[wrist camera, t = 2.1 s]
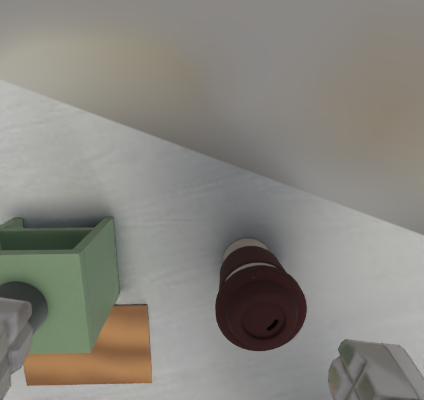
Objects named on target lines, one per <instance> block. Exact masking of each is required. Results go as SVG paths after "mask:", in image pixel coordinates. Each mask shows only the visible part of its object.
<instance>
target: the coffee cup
mask: <svg viewBox="0 0 424 400" xmlns="http://www.w3.org/2000/svg"><path fill="white" fill-rule="evenodd" d="M215 309H216V320H217V323H218V326H219V328H220V330H221V332H222V333H223V335H224V336H225V337H226V338H227V339H228V340H229V341H230V342H232V343H233V344H235V345H236V346H238V347H241V348H243V349H247V350H252V351H267V350H271V349H275V348H278V347H280V346H282V345H284V344H286V343H288V342H289V341H290V340H292V339H293V338H294V337H295V336H296V334H297V333H298V332H299V330H300V329H301V327H302V326H303V323H304V321H305V317H306V312H307V306H306V300H305V296H304V294H303V292H302V290H301V288H300V286H299V285H298V283H297V282H296V280H295V279H294V278H293V277H292V276H291V275H289V274H288V273H287V272H286V271H285V270H284V268H283V267H282V266H281V264H280V263H279V261H278V260H277V258H276V257H275V256H274V255H273V254H272V253H271V252H270V251H269V249H268V248H267V247H266V246H265V245H264V244H263V243H261V242H260V241H258V240H255V239H250V238H249V239H240V240H238V241H235V242H234V243H232V244H231V245H230V246H229V247H228V248H227V249H226V251H225V253H224V255H223V259H222V266H221V271H220V285H219V292H218V294H217V298H216V304H215Z"/></svg>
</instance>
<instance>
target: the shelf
mask: <svg viewBox="0 0 424 400" xmlns="http://www.w3.org/2000/svg"><path fill="white" fill-rule="evenodd" d="M14 281H18V282H24V283H27V284H30V285H32V286H34V287H35V288H37V289H38V290H39V291H40V292H41V293H42V294H43V296H44V297H45V299H46V302H47V306H48V313H47V317H46V319H45V321H44V322H43V323H42V325H41V326H40V327H39V328H38V330H37V331H36V332H35V333H34V335H33V337H32V344H31V347H30V350H29V353H28V354H51V353H91V351H92V349H93V347H94V345H95V343H96V340H97V338H98V336H99V334H100V332H101V330H102V328H103V326H104V324H105V322H106V320H107V318H108V316H109V314H110V312H111V310H112V308H113V306H114V304H115V302H116V300H117V298H118V295H119V293H120V289H119V278H118V266H117V254H116V242H115V231H114V219H113V217H105V218H104V219H103V220H102V221H101V222H100V223H99V224H98V225H97V226H96V227H95V228H94V227H81V228H24V227H23V221H22V218H13V219H11V220H10V221H8V222H6V223H4V224H2V225H0V286H1V285H3V284H5V283H8V282H14Z"/></svg>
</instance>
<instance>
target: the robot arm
mask: <svg viewBox="0 0 424 400" xmlns="http://www.w3.org/2000/svg"><path fill="white" fill-rule="evenodd" d="M31 315H32V308H31V303H30V302H28V301H21V300H14V299H8V298H1V297H0V400H3V398H4V397H5V395H6V393H7V391H8V390H9V388H10V386H11V376H10V375H11V374H12V373H14V372H15V371H17V370H18V369H20V368H21V367H22V365H23V363H24V361H25V360H26V358H27V355H28V353H29V350H30V347H31V344H32V337H33V327H32V326H31V325H30V324H29V323H28V322H27V321H28V319H29V318H30V316H31ZM338 351H339V353H340V356H339V357H338V358H336V359H335V360H333V361H332V363H331V366H330V368H329V375H328V382H329V388H330V392H331V394H332V397H333V399H334V400H424V377H423V376H422V374H421V373H420V371H419V370H418V368H417V367H416V365H415V364H414V362H413V361H412V359H411V358H410V357H409V355H408V354H407V352H406V351H405V349H404V348H402V347H401V346H400V345H394V344H384V343H375V342H365V341H356V340H347V339H345V340H344V341H343V342H341V344H340V346H339V348H338Z"/></svg>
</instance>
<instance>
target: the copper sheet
mask: <svg viewBox="0 0 424 400" xmlns="http://www.w3.org/2000/svg"><path fill="white" fill-rule="evenodd" d="M23 365H24V371H25V377H26V382H27V386H29V385H77V384H125V383H152V371H151V355H150V339H149V323H148V307H147V305H114V306H113V308H112V310H111V312H110V314H109V316H108V318H107V320H106V322H105V324H104V326H103V328H102V330H101V332H100V334H99V336H98V338H97V340H96V343H95V345H94V347H93V349H92V351H91V353H51V354H28V355H27V358H26V360H25V361H24V363H23Z"/></svg>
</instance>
